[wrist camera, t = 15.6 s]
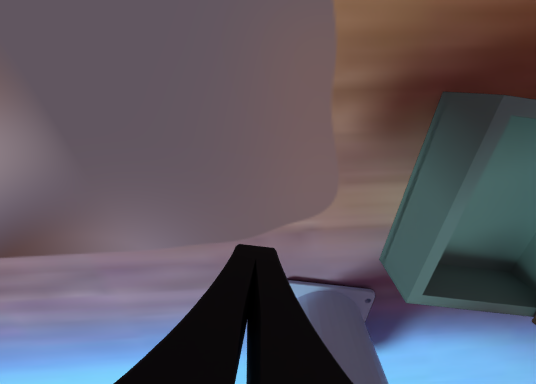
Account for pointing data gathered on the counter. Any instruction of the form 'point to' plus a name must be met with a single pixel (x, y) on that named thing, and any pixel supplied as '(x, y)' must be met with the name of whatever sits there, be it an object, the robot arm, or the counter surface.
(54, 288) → the counter surface
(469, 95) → the teal shallow tray
